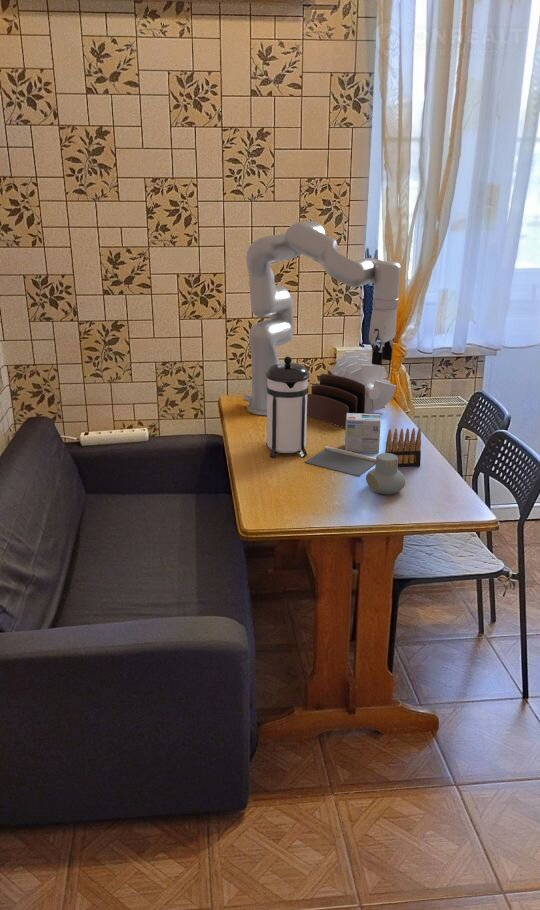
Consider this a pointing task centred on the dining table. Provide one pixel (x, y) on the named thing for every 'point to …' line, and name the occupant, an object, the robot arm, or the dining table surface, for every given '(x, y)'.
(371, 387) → the spiral staircase
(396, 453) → the ammunition clip
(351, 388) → the letter holder
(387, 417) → the dining table surface
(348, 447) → the light bulb box
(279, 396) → the coffee press
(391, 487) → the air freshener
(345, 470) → the mat
